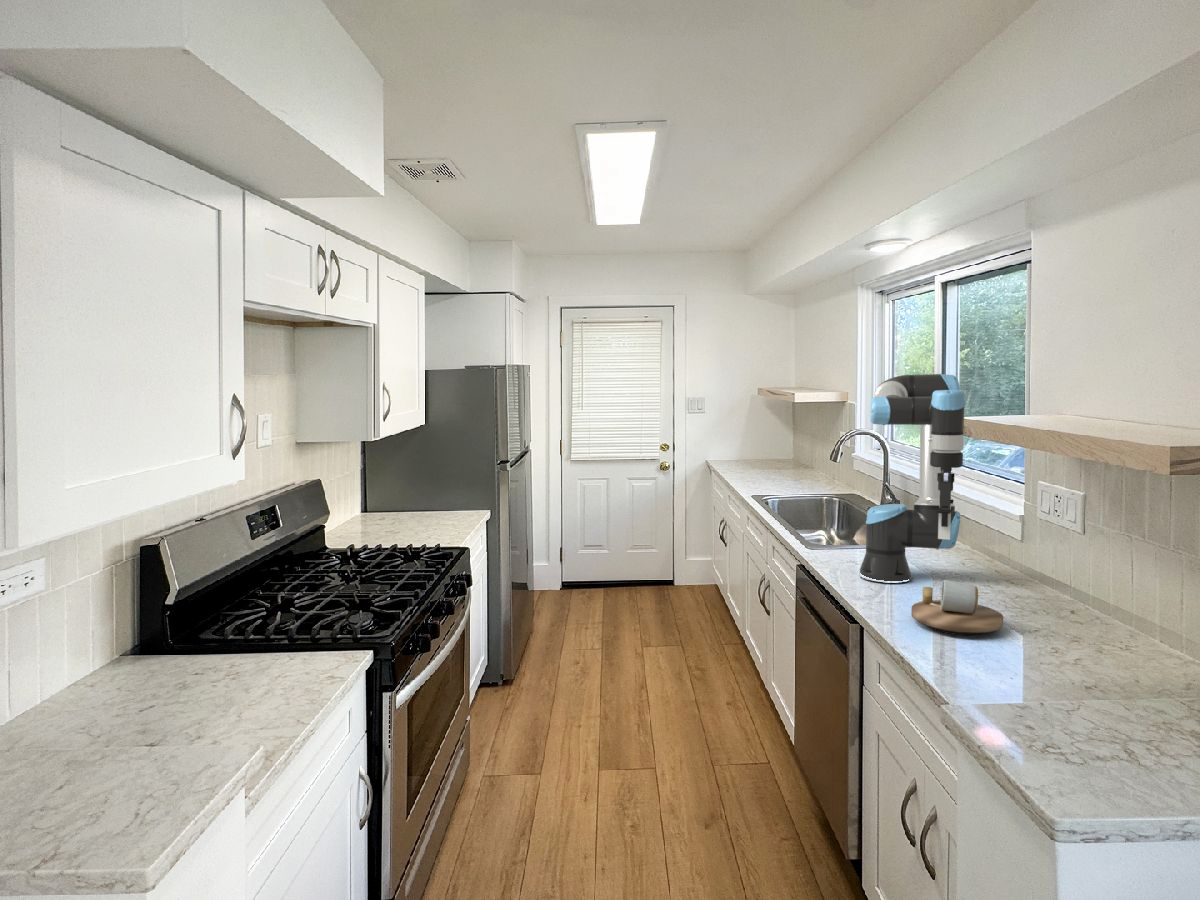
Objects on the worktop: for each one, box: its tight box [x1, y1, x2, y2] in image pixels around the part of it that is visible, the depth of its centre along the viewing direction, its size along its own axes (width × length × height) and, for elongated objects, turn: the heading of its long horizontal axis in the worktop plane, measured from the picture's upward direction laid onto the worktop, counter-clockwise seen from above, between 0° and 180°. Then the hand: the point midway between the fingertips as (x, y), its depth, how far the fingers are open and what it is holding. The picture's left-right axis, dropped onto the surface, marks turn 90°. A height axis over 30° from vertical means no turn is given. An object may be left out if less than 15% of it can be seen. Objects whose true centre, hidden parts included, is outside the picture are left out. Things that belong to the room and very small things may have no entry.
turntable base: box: [928, 626, 986, 636], centre depth 188 cm, size 14×14×2 cm
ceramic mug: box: [940, 579, 979, 613], centre depth 189 cm, size 11×8×8 cm
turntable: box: [910, 586, 1004, 633], centre depth 188 cm, size 21×21×6 cm
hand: (944, 533), depth 190 cm, fingers open, 13 cm apart
